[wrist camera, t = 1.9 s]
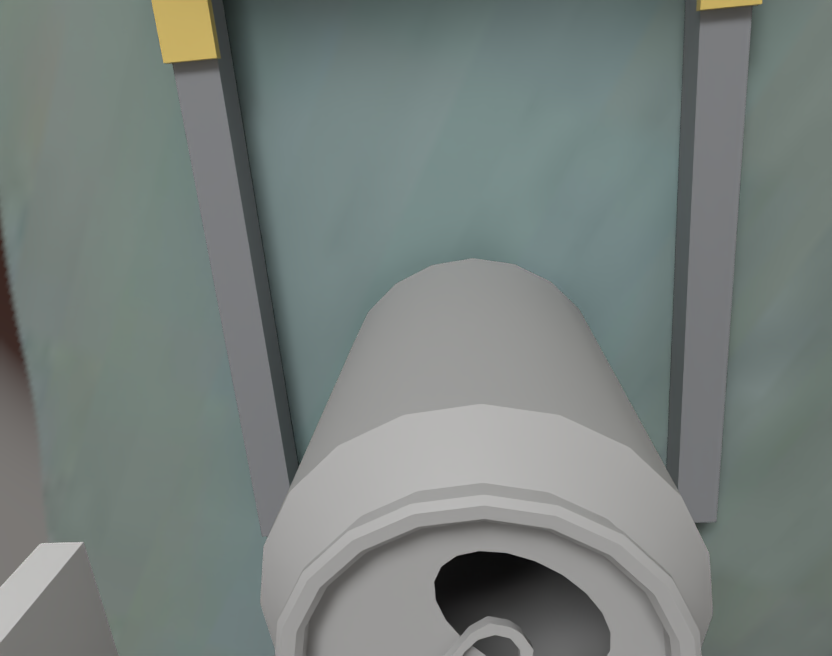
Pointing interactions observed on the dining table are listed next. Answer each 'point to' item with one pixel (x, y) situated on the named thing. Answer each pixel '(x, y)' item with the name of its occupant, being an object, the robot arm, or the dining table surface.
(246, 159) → the guide channel
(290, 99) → the dining table surface
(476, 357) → the can
